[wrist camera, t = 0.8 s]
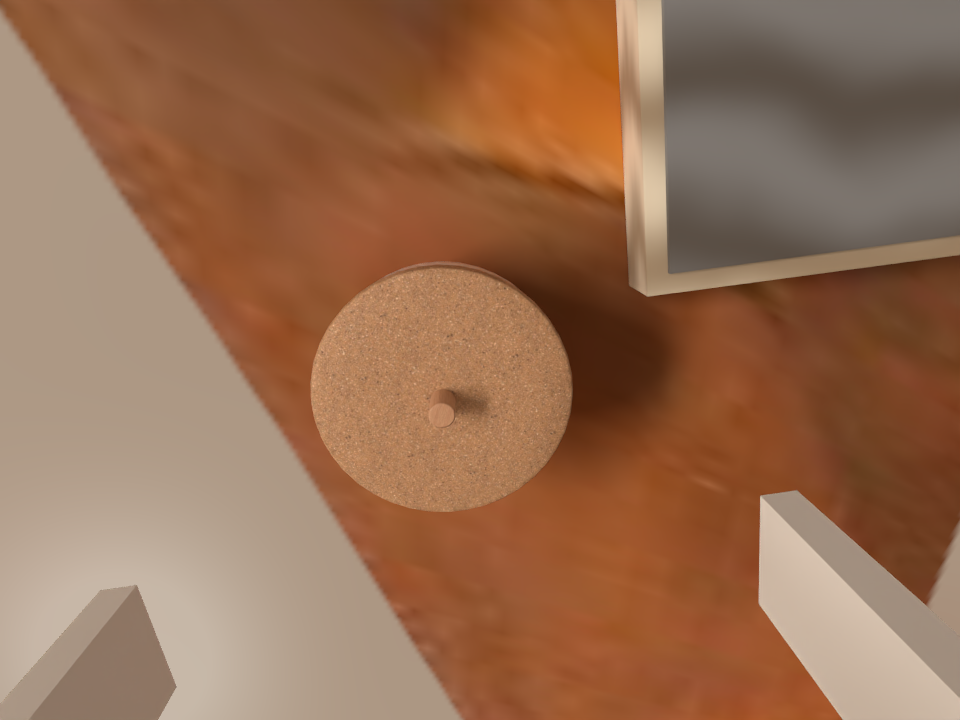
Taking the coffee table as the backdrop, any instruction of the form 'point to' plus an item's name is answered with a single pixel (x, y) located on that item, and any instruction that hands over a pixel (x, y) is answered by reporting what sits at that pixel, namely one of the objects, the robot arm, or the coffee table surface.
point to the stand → (786, 137)
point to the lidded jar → (441, 387)
